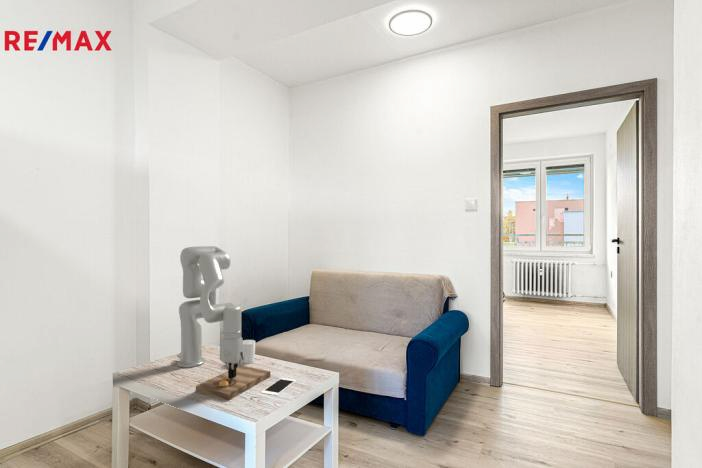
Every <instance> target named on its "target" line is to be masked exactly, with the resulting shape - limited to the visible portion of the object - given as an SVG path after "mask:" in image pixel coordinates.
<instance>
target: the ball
mask: <svg viewBox="0 0 702 468" xmlns="http://www.w3.org/2000/svg"><path fill="white" fill-rule="evenodd" d="M227 385H229V384H228V382H227V381H226V380H222V381H220V383H219V386H227Z"/></svg>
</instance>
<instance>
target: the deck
mask: <svg viewBox="0 0 702 468" xmlns="http://www.w3.org/2000/svg"><path fill="white" fill-rule="evenodd" d="M269 378H271V370H267V369H262V368H256V367H251V366H247V365H241V366H238V367H237V368H236V377H234V378H232V379H230V378H228V370H226V371H224V372H223V373H220V374H218V375H216V376H215V377H211V378H210V379H207V380H206V381H203V382H202V383H200V384H197V385H195V393H197V394H198V393H199V394H203V395H207V396H210V397H214V398H218V399H221V400H226V401H230V400H232V399H234V398H236V397H238V396H239V395H241V394H243V393H244V392H246V391H248V390H249V389H251V388H253V387H255V386H257V385H258V384H260V383H262V382H263V381H265V380H267V379H269ZM222 380H226V381H227V382H228V384H229V385H227V386H219V383H220V381H222Z"/></svg>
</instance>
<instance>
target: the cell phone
mask: <svg viewBox="0 0 702 468" xmlns="http://www.w3.org/2000/svg"><path fill="white" fill-rule="evenodd" d="M296 382H297V379H292V378H291V379H290V378H287V377H286V378H284V377H280V378H279V379H277V380H276V381H274V382H273V383H272V384H270V385H269V386H267V387H266V388H265V389H263V390H261V392H260V394H264V395H269V396H279V394H281V393H282V392H283V391H285V390H286V389H288V388H289V387H290V386H291V385H293V384H295V383H296Z"/></svg>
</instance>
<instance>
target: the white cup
mask: <svg viewBox="0 0 702 468" xmlns="http://www.w3.org/2000/svg"><path fill="white" fill-rule="evenodd" d="M243 346H244V360H243V365H244V364H245V365H247V364H251V363H252V364H253V362H255V355H256V340H254V339H244V340H243Z"/></svg>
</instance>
